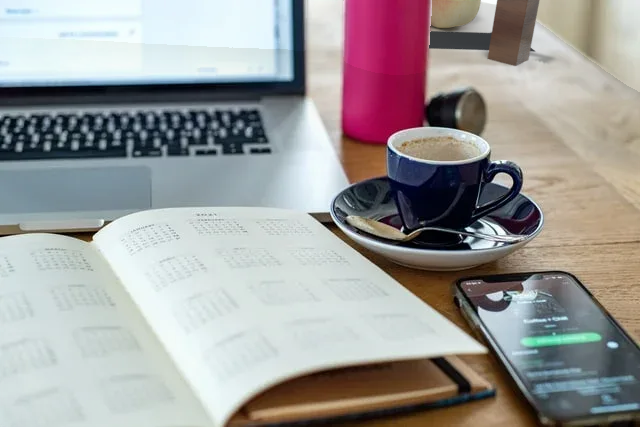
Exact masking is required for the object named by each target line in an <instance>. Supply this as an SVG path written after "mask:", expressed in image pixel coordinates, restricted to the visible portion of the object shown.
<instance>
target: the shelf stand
mask: <svg viewBox="0 0 640 427" xmlns="http://www.w3.org/2000/svg"><path fill="white" fill-rule="evenodd" d="M539 5H540V0H496V6H495V10H494V18H493V23H492V29H491V33H492V35H491V41H490V47H489V50H488V54H487V60H490V61H493V62H498V63H501V64H505V65H510V66H513V67H517V66H519V65H521V64H523V63H525V62H528V61H529V58H530V54H531V51H530V49H531V48H532V43H533V38H534V31H535V26H536V21H537V17H538V16H537V15H538V10H539Z"/></svg>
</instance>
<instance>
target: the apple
mask: <svg viewBox="0 0 640 427" xmlns="http://www.w3.org/2000/svg"><path fill="white" fill-rule="evenodd" d="M481 3H482V1H481V0H432V16H431V24H430V25H431V26H433V27H435V28H437V29H445V28H446V29H447V28H454V27H460V26H465V25H467V24H470V23H471V22H472V21H474V20H475V18H476V17H477V15H478V13H479V11H480V7H481Z"/></svg>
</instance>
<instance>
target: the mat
mask: <svg viewBox="0 0 640 427" xmlns="http://www.w3.org/2000/svg"><path fill="white" fill-rule="evenodd" d="M430 31H431V32H430V45H429V49H431V50H438V49H439V50H464V51H466V50H467V51H489V47H490V41H491V35H492V32H477V31H475V32H473V31H446V30H445V31H444V30H443V31H442V30H430ZM429 49H428V50H429ZM530 52H535V53H536V50H534V49H533V47H531V49H530Z"/></svg>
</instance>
